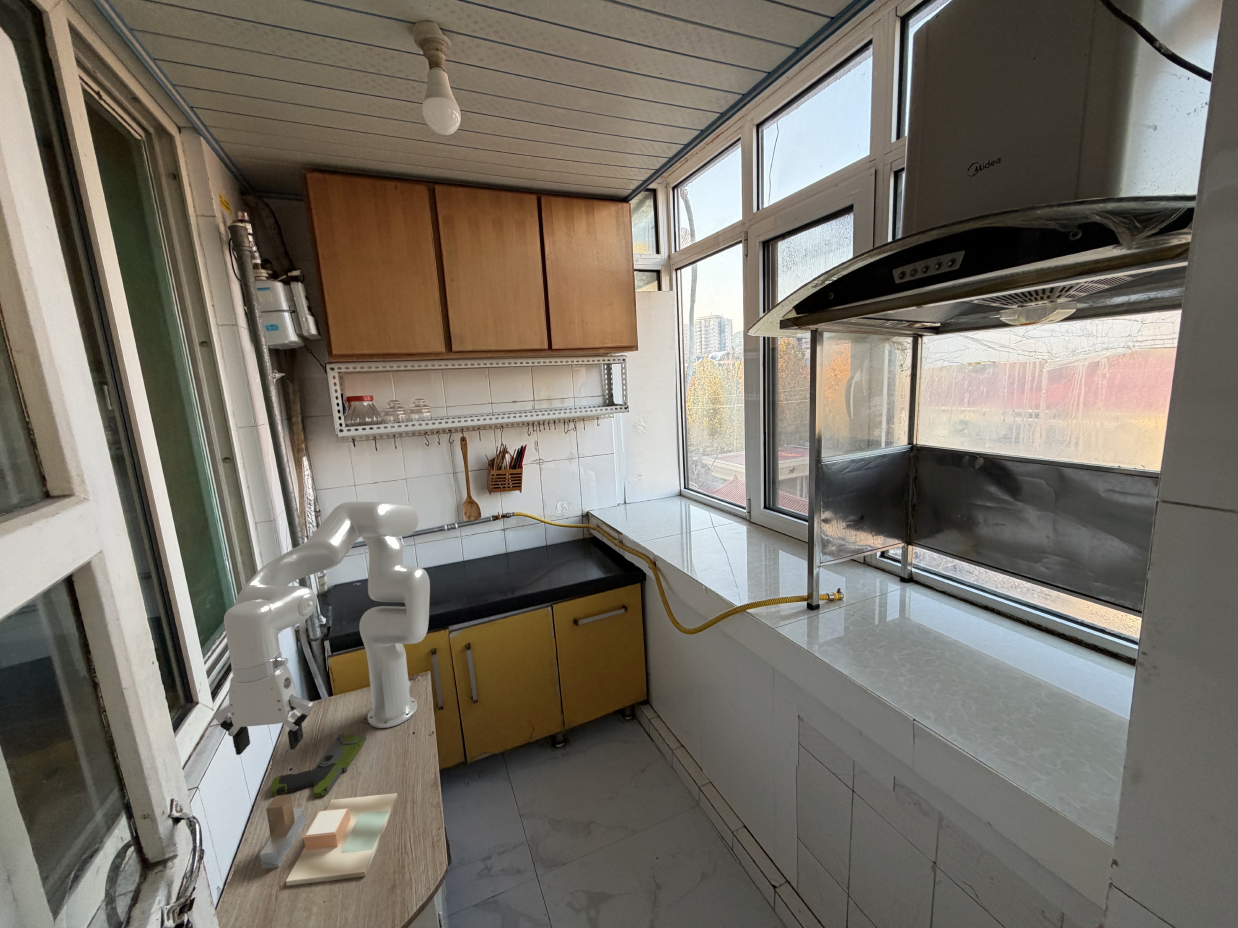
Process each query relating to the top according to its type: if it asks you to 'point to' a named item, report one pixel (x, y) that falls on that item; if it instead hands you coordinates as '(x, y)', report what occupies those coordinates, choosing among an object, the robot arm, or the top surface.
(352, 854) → the board
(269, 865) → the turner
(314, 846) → the tile
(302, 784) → the gun
